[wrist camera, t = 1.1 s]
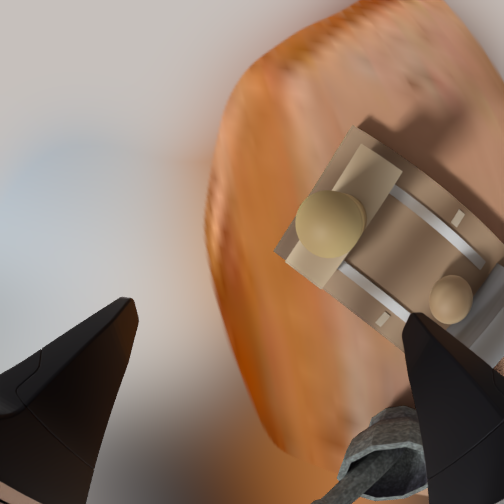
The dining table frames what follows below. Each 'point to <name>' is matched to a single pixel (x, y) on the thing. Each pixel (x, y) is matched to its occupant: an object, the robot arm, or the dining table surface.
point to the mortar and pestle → (382, 460)
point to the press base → (415, 256)
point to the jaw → (340, 215)
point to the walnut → (450, 299)
